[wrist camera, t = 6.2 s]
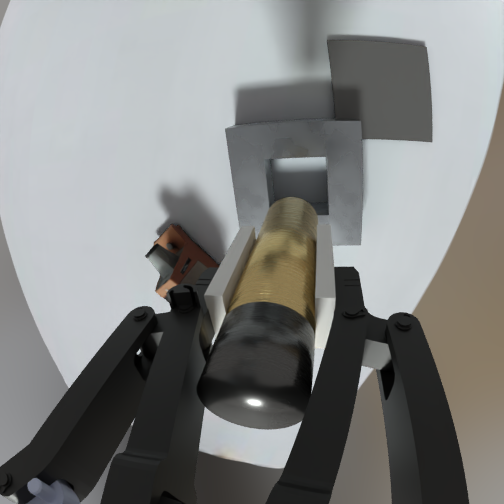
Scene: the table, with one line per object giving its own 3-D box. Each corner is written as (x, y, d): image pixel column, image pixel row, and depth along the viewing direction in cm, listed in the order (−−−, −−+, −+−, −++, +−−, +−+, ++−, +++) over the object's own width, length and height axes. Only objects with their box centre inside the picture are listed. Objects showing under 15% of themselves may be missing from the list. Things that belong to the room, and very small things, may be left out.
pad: (327, 41, 22) (327, 40, 21) (424, 47, 20) (426, 46, 19) (336, 138, 27) (337, 138, 26) (430, 141, 24) (432, 142, 24)
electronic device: (176, 218, 35) (146, 249, 29) (231, 273, 37) (214, 313, 31) (156, 239, 37) (127, 271, 31) (209, 289, 39) (190, 328, 33)
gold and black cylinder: (263, 197, 20) (183, 362, 8) (317, 196, 19) (310, 373, 7) (268, 245, 22) (210, 422, 10) (318, 244, 21) (308, 432, 9)
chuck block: (234, 125, 28) (225, 128, 25) (355, 118, 25) (360, 121, 22) (257, 289, 38) (251, 306, 35) (353, 289, 35) (355, 308, 32)
